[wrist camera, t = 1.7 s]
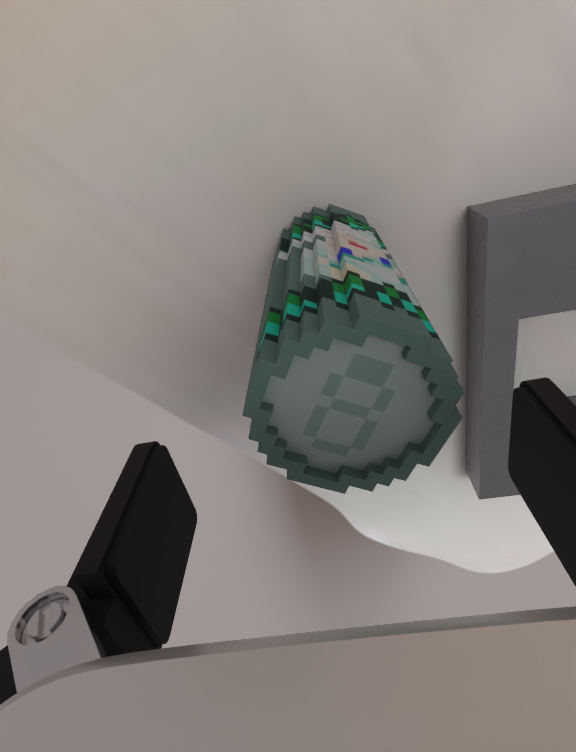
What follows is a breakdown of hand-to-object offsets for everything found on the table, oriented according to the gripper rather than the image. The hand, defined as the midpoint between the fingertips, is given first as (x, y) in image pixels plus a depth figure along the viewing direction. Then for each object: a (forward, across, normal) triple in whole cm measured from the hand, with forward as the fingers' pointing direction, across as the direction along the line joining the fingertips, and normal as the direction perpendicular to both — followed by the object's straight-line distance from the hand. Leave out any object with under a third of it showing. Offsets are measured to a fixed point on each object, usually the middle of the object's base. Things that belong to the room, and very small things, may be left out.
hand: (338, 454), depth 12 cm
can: (+16, -1, 0) cm, 17 cm away
